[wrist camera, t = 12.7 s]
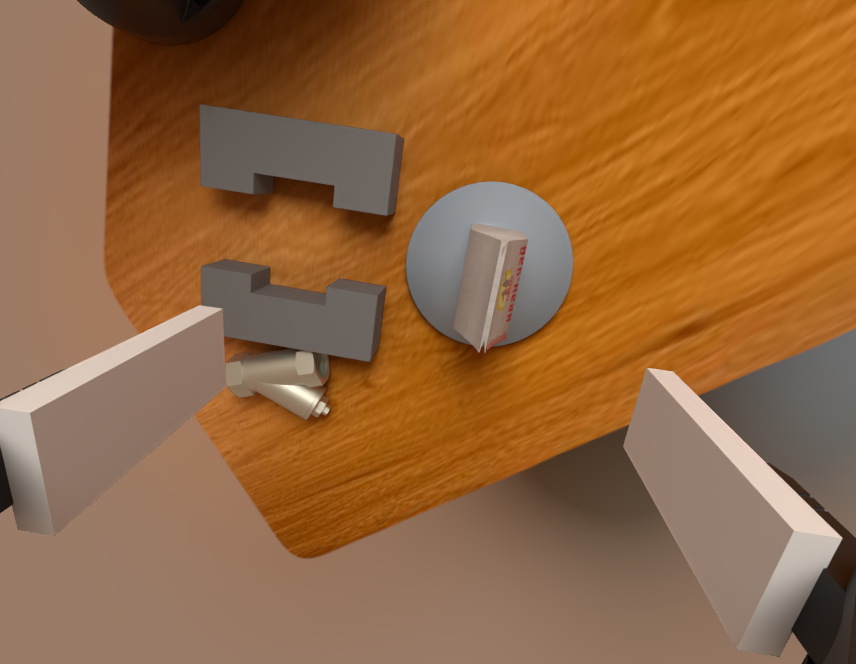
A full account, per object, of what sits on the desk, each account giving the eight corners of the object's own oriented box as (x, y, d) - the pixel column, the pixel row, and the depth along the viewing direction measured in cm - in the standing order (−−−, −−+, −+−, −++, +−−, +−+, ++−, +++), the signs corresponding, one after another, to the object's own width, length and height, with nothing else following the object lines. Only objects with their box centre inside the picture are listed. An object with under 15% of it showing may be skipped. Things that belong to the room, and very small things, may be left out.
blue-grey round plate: (419, 169, 35) (418, 169, 34) (589, 195, 34) (592, 196, 34) (398, 328, 39) (396, 332, 38) (549, 354, 39) (551, 358, 38)
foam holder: (225, 111, 35) (199, 103, 32) (403, 138, 35) (396, 133, 31) (224, 320, 41) (201, 332, 37) (378, 347, 40) (369, 361, 37)
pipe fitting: (343, 401, 43) (323, 335, 40) (332, 425, 39) (308, 354, 37) (264, 412, 44) (240, 349, 41) (246, 436, 40) (218, 368, 38)
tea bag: (456, 306, 37) (450, 348, 28) (472, 222, 35) (471, 235, 25) (501, 314, 37) (510, 359, 27) (519, 230, 35) (536, 247, 25)
